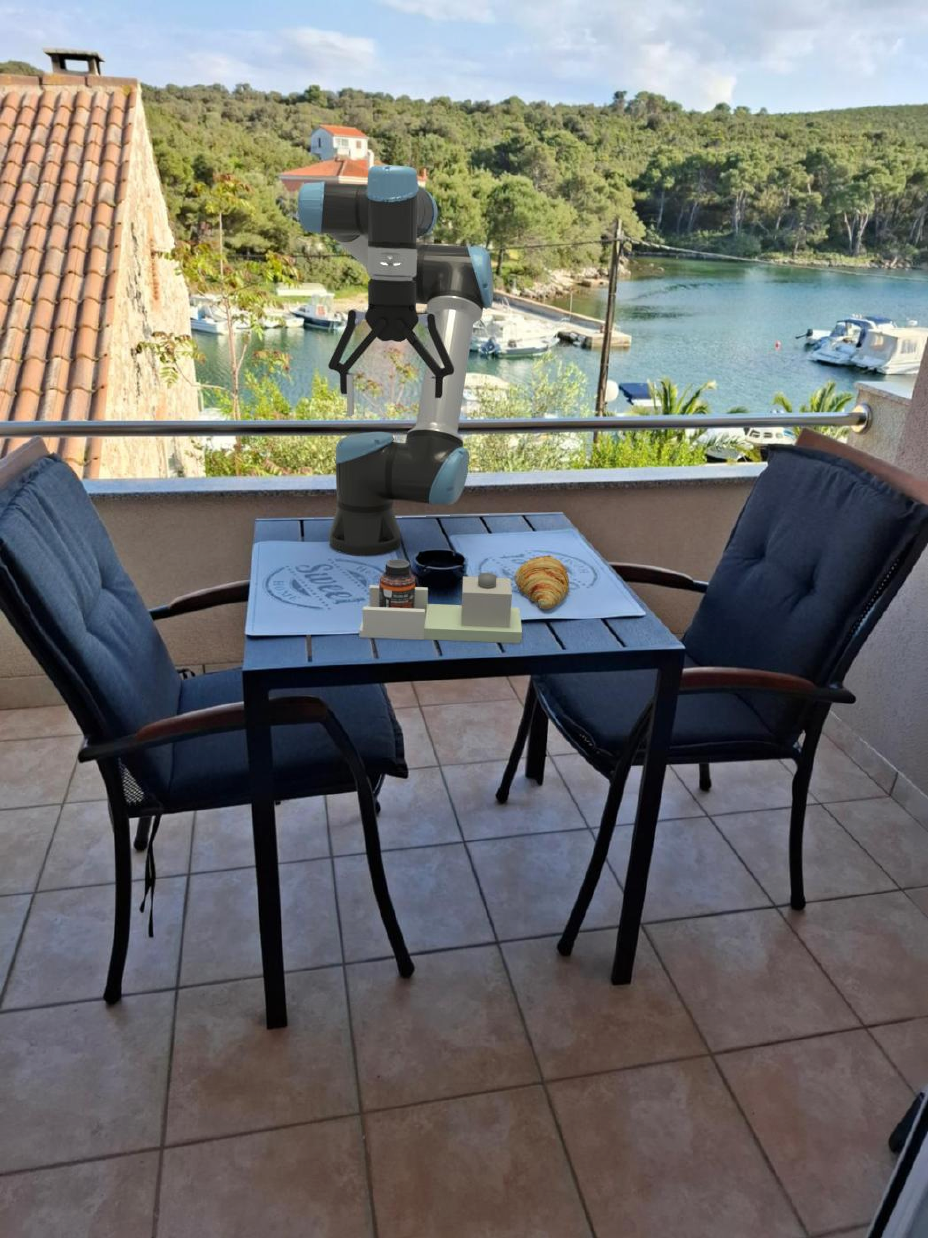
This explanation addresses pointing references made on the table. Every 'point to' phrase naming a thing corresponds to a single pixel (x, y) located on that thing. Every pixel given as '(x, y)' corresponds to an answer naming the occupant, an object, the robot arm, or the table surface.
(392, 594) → the supplement bottle
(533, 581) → the croissant
